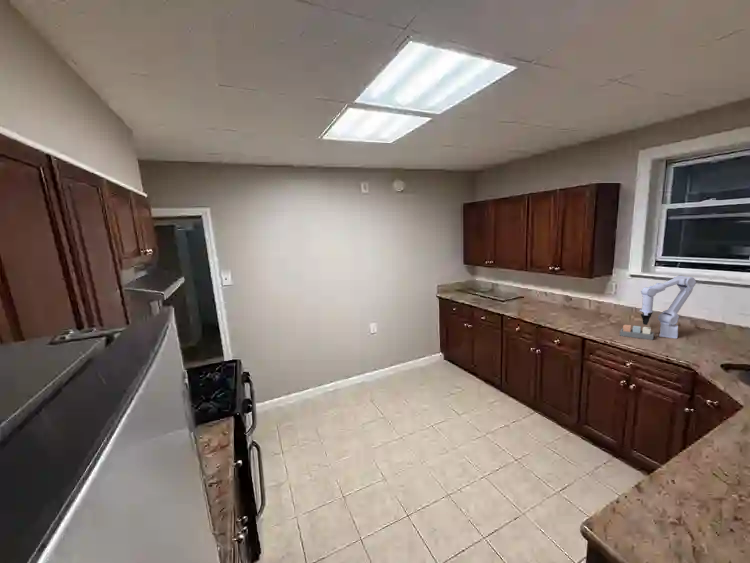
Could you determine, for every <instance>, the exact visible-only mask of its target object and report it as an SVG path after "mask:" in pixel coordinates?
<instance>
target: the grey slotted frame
mask: <svg viewBox="0 0 750 563" xmlns="http://www.w3.org/2000/svg"><path fill="white" fill-rule="evenodd" d="M642 332H643V329H641V332H640V333H636V332H633V328H631V332H627V331H623V327H622V328H621V329H620V330H619V337H625V338H634V339H640V340H650V341H653V340H654V337H655V331H651V333H650V334H644V333H642Z"/></svg>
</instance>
